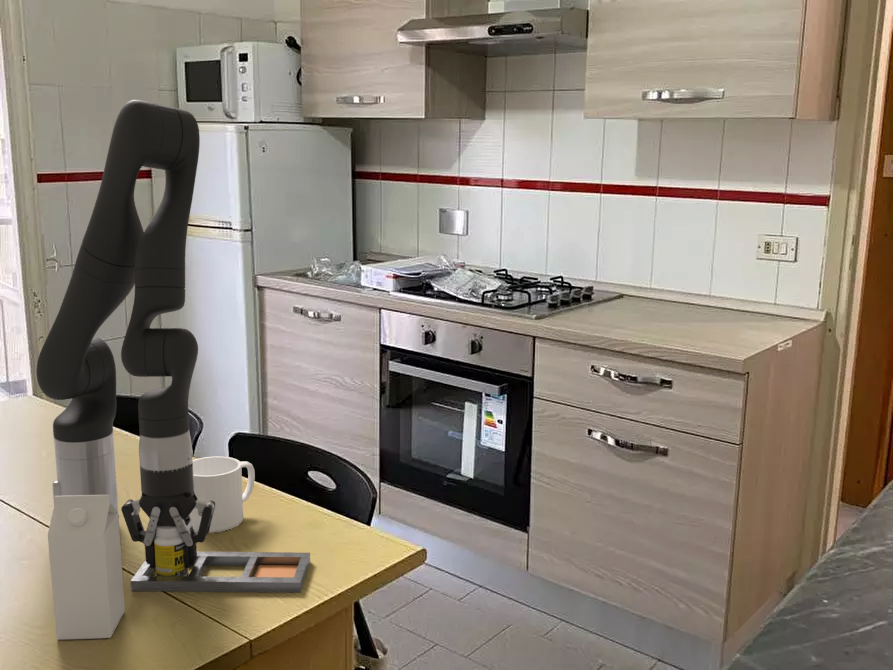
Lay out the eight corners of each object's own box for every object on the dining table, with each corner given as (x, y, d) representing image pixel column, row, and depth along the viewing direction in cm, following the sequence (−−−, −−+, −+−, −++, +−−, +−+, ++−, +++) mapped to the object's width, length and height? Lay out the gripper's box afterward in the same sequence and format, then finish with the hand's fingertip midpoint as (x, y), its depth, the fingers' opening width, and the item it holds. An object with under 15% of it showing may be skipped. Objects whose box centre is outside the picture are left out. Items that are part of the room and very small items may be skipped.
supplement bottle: (178, 584, 135) (176, 532, 134) (150, 581, 136) (147, 529, 135) (193, 570, 140) (191, 519, 138) (165, 566, 141) (163, 516, 139)
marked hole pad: (251, 585, 135) (251, 584, 135) (259, 567, 141) (259, 565, 141) (292, 586, 135) (292, 584, 135) (298, 567, 141) (298, 565, 141)
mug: (194, 538, 151) (191, 480, 149) (177, 517, 160) (174, 462, 158) (265, 522, 158) (263, 467, 156) (245, 503, 166) (243, 450, 164)
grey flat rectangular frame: (131, 590, 133) (130, 580, 133) (152, 560, 143) (152, 551, 143) (300, 592, 133) (300, 582, 133) (310, 562, 143) (310, 552, 143)
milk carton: (73, 613, 127) (63, 486, 123) (125, 612, 127) (116, 485, 123) (56, 641, 120) (44, 506, 116) (111, 639, 120) (101, 505, 116)
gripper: (108, 468, 131) (116, 577, 134) (207, 469, 131) (212, 577, 134) (126, 451, 138) (133, 554, 142) (220, 452, 138) (224, 555, 142)
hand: (172, 565), depth 138 cm, fingers closed on supplement bottle, 4 cm apart
